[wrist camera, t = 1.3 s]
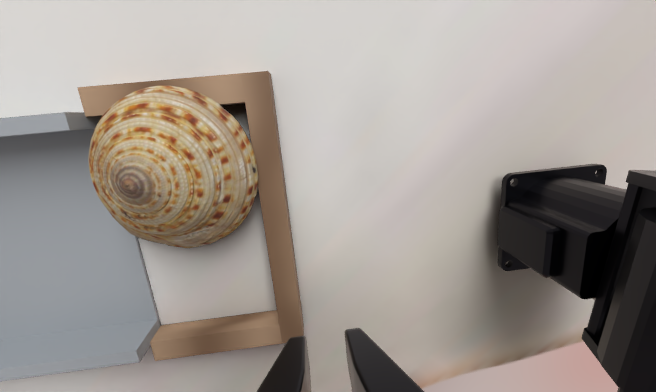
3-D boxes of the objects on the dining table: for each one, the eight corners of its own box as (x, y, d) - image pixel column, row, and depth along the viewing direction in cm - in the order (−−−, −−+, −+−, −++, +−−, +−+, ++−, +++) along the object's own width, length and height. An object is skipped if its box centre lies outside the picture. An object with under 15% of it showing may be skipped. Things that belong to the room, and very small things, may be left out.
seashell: (118, 269, 18) (4, 166, 12) (150, 193, 21) (75, 85, 15) (265, 260, 18) (229, 155, 12) (271, 186, 22) (246, 77, 15)
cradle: (271, 74, 18) (268, 71, 16) (303, 324, 22) (303, 340, 20) (97, 90, 17) (77, 87, 16) (165, 342, 21) (155, 360, 20)
